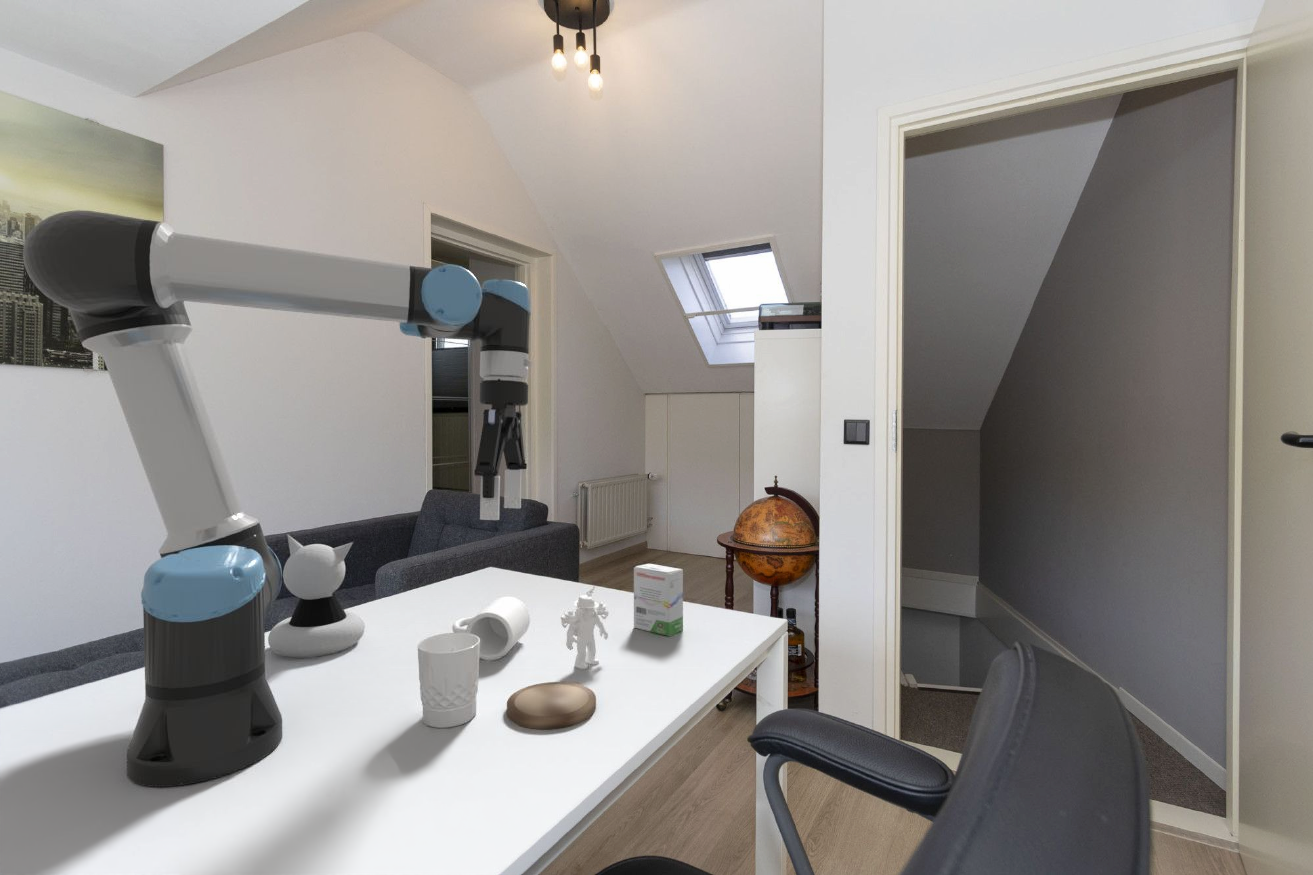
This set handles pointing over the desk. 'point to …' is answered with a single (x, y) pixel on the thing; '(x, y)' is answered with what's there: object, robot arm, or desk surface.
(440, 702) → the white cup
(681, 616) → the ink box
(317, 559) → the decorative figurine
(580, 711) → the coaster
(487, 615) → the mug
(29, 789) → the desk surface
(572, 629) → the flower shoulder figurine
